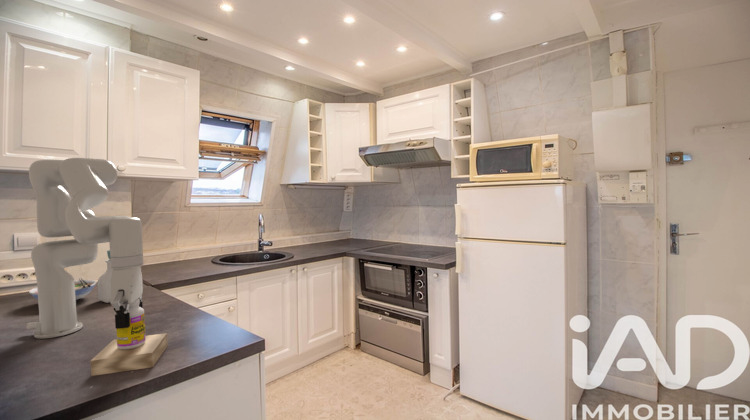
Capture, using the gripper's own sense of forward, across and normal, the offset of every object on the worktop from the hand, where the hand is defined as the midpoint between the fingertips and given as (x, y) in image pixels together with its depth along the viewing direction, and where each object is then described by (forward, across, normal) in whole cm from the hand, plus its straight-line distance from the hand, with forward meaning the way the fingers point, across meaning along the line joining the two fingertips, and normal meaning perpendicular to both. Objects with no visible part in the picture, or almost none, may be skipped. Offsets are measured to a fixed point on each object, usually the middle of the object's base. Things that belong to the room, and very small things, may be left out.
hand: (129, 321), depth 99 cm
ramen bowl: (+13, -74, -51) cm, 91 cm away
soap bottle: (+12, -70, -31) cm, 78 cm away
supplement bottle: (+7, 0, 0) cm, 7 cm away
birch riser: (+11, 0, 0) cm, 11 cm away
